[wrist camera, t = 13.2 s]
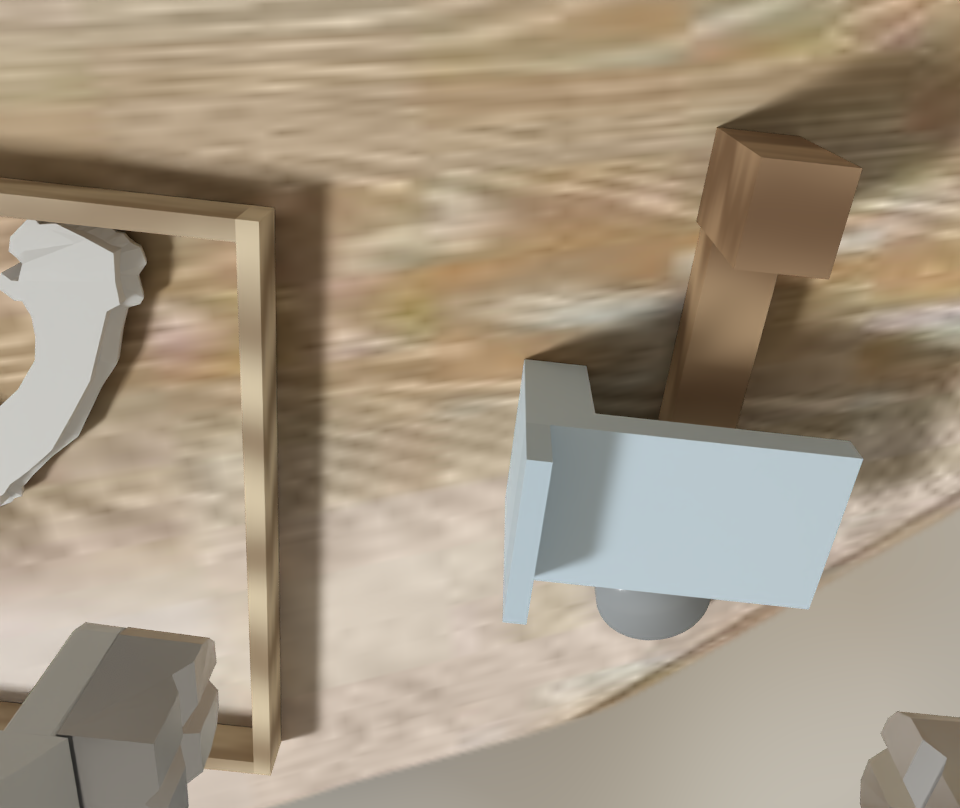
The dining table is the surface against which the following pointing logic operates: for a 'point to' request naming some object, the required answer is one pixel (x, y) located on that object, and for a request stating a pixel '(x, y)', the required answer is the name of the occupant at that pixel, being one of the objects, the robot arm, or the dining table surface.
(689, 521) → the shelf
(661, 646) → the dining table surface
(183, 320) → the dining table surface
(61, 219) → the wooden frame
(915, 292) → the dining table surface
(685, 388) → the brown l-shaped block
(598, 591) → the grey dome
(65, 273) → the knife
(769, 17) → the dining table surface
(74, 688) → the robot arm
